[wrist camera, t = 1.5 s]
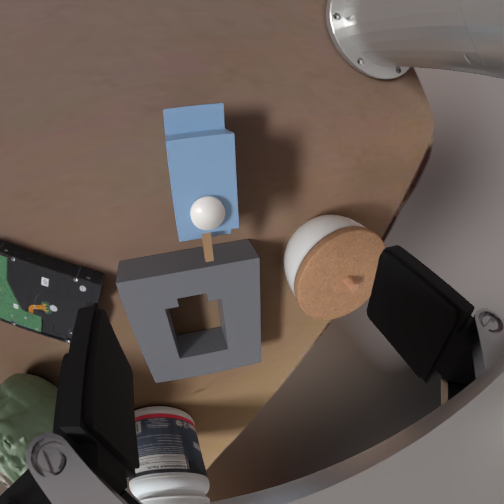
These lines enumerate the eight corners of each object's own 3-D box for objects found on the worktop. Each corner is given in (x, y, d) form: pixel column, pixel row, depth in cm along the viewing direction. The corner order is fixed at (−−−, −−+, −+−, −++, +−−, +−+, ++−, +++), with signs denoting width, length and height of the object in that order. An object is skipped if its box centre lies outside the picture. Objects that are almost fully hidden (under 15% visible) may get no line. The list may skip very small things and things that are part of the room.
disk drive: (105, 269, 30) (-8, 234, 23) (102, 283, 27) (-19, 246, 20) (92, 333, 33) (-6, 304, 26) (90, 349, 31) (-13, 318, 24)
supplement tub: (192, 432, 50) (213, 513, 35) (129, 434, 46) (140, 518, 30) (194, 399, 44) (219, 500, 29) (117, 402, 40) (125, 505, 25)
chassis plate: (248, 239, 32) (259, 257, 29) (252, 340, 40) (261, 361, 37) (119, 261, 29) (115, 283, 26) (153, 360, 37) (155, 383, 34)
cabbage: (18, 406, 35) (9, 500, 18) (-18, 336, 27) (-53, 453, 10) (92, 418, 41) (97, 519, 24) (72, 350, 33) (61, 490, 16)
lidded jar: (293, 188, 31) (340, 225, 23) (363, 214, 35) (412, 251, 27) (256, 273, 35) (285, 327, 27) (326, 285, 39) (363, 331, 31)
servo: (163, 108, 23) (163, 111, 16) (213, 102, 24) (235, 104, 17) (178, 234, 29) (186, 283, 22) (221, 226, 30) (243, 272, 23)
